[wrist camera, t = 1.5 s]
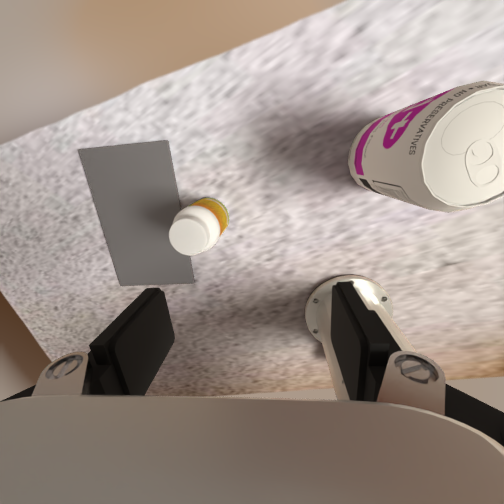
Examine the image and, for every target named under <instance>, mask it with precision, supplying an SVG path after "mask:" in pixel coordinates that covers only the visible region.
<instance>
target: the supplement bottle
mask: <svg viewBox="0 0 504 504" xmlns="http://www.w3.org/2000/svg"><path fill="white" fill-rule="evenodd" d="M228 223H229V213H228V210H227V208H226V207H225V205H224V204H223V203H222V202H220V201H219V200H217V199H215V198H203V199H200V200H198V201H196V202H195V203H193V204H191V205H189V206H188V207H186V208H184V209H182V210H181V211H180V212H179V213H178V214H177V215H176V216H175V218H174V221H173V224H172V226H171V228H170V230H169V239H170V242H171V244H172V246H173V247H174V249H175V250H177V251H178V252H179V253H181V254H184V255H188V256H192V255H196V254H199V253H200V252H204V251H207V250H209V249H211V248H212V247H213V246H214V245H215V244H216V243H217V241H218V240H219V238H220V237H221V235H222V234H223V233H224V231H225V230H226V228H227V226H228Z"/></svg>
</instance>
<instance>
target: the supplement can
mask: <svg viewBox="0 0 504 504" xmlns="http://www.w3.org/2000/svg"><path fill="white" fill-rule="evenodd" d="M348 165H349V169H350V173H351V176H352V177H353V178H354V180H355V181H356V182H357V184H358V185H360V186H362V187H364V188H365V189H367V190H370V191H373V192H376V193H379V194H382V195H385V196H388V197H392V198H395V199H398V200H401V201H404V202H407V203H410V204H413V205H417V206H420V207H423V208H426V209H429V210H435V211H442V212H448V213H449V212H455V211H461V210H467V209H471V208H473V207H476V206H481V205H486V204H488V203H491V202H493V201H495V200H497V199H499V198H501V197H503V196H504V84H502V83H495V82H488V81H480V82H476V83H471V84H467V85H463V86H459V87H456V88H453V89H451V90H448V91H446V92H443V93H441V94H438V95H436V96H433V97H431V98H428V99H426V100H423V101H420V102H418V103H415V104H413V105H410V106H408V107H405V108H403V109H400V110H398V111H395V112H393V113H390V114H388V115H385V116H383V117H380V118H378V119H376V120H374V121H372V122H371V123H369V124H368V125H366V126H364V128H363V129H362V130H361V131H360V132H359V133H358V135H357V136H356V137H355V138H354V141H353V143H352V145H351V147H350V150H349V158H348Z"/></svg>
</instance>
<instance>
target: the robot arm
mask: <svg viewBox="0 0 504 504" xmlns="http://www.w3.org/2000/svg"><path fill="white" fill-rule="evenodd" d="M315 298H316V299H315ZM392 316H393V305H392V301H391V299H390V297H389V295H388V294H387V292H386V291H385V290H384V289H383V288H382V287H381V286H380V285H379V284H378V283H376V282H375V281H373V280H371V279H369V278H366V277H362V276H356V275H346V276H340V277H336V278H333V279H330V280H328V281H326V282H324V283H323V284H321V285H320V286H319V287H317V288H316V289H315V290H314V292H313V293H312V294H311V295H310V297H309V299H308V301H307V304H306V307H305V319H306V323H307V327H308V329H309V331H310V332H311V334H312V335H313V336H314V337H315V338H316V339H317V340H318V341H320V342H322V344H323V348H324V352H325V356H326V359H327V363H328V367H329V371H330V375H331V378H332V382H333V386H334V390H335V393H336V397H337V400H324V399H323V400H322V399H290V398H250V397H249V398H248V397H202V396H144V395H145V393H146V391H147V390H148V388H149V386H150V384H151V382H152V381H153V379H154V377H155V375H156V373H157V372H158V370H159V368H160V366H161V364H162V363H163V361H164V359H165V357H166V356H167V354H168V352H169V350H170V348H171V347H172V345H173V343H174V339H175V336H174V331H173V327H172V323H171V319H170V314H169V310H168V306H167V302H166V298H165V294H164V292H163V291H161V290H160V288H147V289H145V290H144V291H143V292H142V293H141V294H140V295H139V296H138V297H137V298H136V299H135V300H134V301H133V302H132V303H131V304H130V305H129V306H128V307H127V308H126V309H125V310H124V311H123V312H122V313H121V314H120V315H119V316H118V317H117V318H116V319H115V320H114V321H113V322H112V323H111V324H110V325H109V326H108V327H107V328H106V329H105V330H104V331H103V332H102V333H101V334H100V335H99V336H98V337H97V338H96V339H95V340H94V341H93V342H92V343H91V344H90V345H89V347H90V349H91V351H90V352H89V353H88V354H86V353H85V352H73V353H70V354H67V355H64V356H62V357H60V358H58V359H56V360H55V361H53V362H52V363H51V364H49V365H48V366H47V367H46V368H45V369H44V370H43V372H42V373H41V375H40V377H39V379H38V382H37V384H36V385H34V386H32V387H30V388H28V389H26V390H24V391H22V392H20V393H17V394H15V395H13V396H11V397H9V398H7V399H5V400H2V401H0V504H504V413H503V412H501V411H499V410H497V409H495V408H493V407H491V406H489V405H487V404H485V403H483V402H481V401H479V400H477V399H475V398H473V397H471V396H469V395H467V394H465V393H463V392H461V391H459V390H457V389H455V388H453V387H451V386H449V385H447V384H445V374H444V372H443V371H442V369H441V368H440V366H438V365H437V364H436V363H435V362H434V361H433V360H431V359H429V358H428V357H426V356H424V355H421V354H419V353H417V351H416V350H415V349H414V347H413V346H412V345H411V343H410V342H409V341H408V339H407V338H406V337H405V335H404V334H403V333H402V331H401V330H400V329H399V327H398V326H397V325H396V323H395V322H394V321H393V319H392Z"/></svg>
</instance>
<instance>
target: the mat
mask: <svg viewBox="0 0 504 504" xmlns="http://www.w3.org/2000/svg"><path fill="white" fill-rule="evenodd" d="M78 151H79V154H80V157H81V160H82V164H83V167H84V170H85V173H86V176H87V180H88V183H89V186H90V189H91V192H92V196H93V199H94V202H95V205H96V209H97V212H98V215H99V218H100V221H101V225H102V228H103V231H104V234H105V237H106V241H107V244H108V247H109V250H110V254H111V257H112V260H113V263H114V266H115V270H116V273H117V276H118V279H119V282H120V286H135V285H163V284H190V283H194V282H195V280H194V275H193V270H192V264H191V259H190V256H188V255H184V254H181V253H179V252H178V251H177V250H175V249H174V247H173V246H172V244H171V242H170V239H169V230H170V228H171V226H172V224H173V221H174V218H175V216H176V215H177V214H178V213H179V212H180V211H181V206H180V201H179V195H178V190H177V185H176V179H175V174H174V169H173V163H172V158H171V153H170V147H169V142H168V141H167V140H165V141H156V142H146V143H136V144H127V145H117V146H107V147H98V148H88V149H79V150H78Z"/></svg>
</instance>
